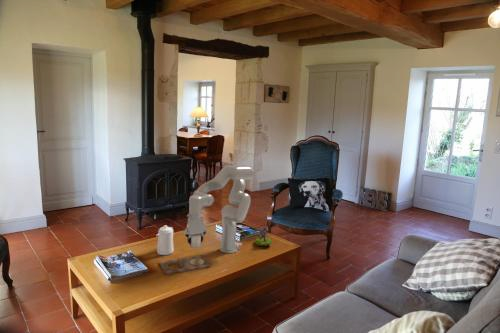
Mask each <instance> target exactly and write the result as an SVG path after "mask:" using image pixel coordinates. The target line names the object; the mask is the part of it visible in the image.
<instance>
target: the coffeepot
mask: <svg viewBox="0 0 500 333" xmlns="http://www.w3.org/2000/svg"><path fill="white" fill-rule="evenodd" d="M174 231H175V230H174V228H173V227H172V226H168V225H166V224H165V225H163V226H162V227H160V228H159V229H158V231H157V232H158V233H156V234H155V235H156V237H157V246H156V253H157V254H158V255H160V256H169V255H171V254H173V253H174V250H175V249H174Z"/></svg>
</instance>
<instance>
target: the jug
mask: <svg viewBox="0 0 500 333" xmlns="http://www.w3.org/2000/svg"><path fill="white" fill-rule="evenodd" d="M190 238H191V244H189V247H190V248H192V249H199V248H201V246H202V242H201V234H194V235H191V237H190Z"/></svg>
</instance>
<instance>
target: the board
mask: <svg viewBox="0 0 500 333" xmlns="http://www.w3.org/2000/svg"><path fill="white" fill-rule="evenodd" d="M158 263H159V266H160V267H161V269H162V271H163V273H164V275H165V276H166V275H172V274H178V273H184V272H190V271H195V270H196V271H197V270H202V269H208V268H211V264H210V263H209V262H208V261H207V260H206V258H205V257H204V255H196V256H191V257H184V258H176V259H170V260H169V259H168V260H163V261H159V262H158ZM170 265H178V266H179V267H175V268H170V267H169V266H170Z"/></svg>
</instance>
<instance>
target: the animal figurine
mask: <svg viewBox="0 0 500 333" xmlns="http://www.w3.org/2000/svg"><path fill="white" fill-rule="evenodd" d="M260 229H261V231H260V236H259V237H257V238H255V239H254V241H253V242H254V243H255V244H256V245H259V246H263V247H264V246H265V247H266V246H269V245H271V244H272V242H273V240H272V239H271V238H269V237H266V236H268V235H270V234H269V233H267V232H268V231H269V227H268V225H265V226H264V227H262V228H260Z"/></svg>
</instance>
